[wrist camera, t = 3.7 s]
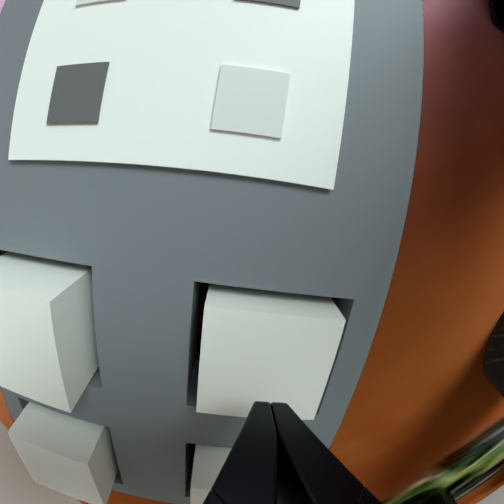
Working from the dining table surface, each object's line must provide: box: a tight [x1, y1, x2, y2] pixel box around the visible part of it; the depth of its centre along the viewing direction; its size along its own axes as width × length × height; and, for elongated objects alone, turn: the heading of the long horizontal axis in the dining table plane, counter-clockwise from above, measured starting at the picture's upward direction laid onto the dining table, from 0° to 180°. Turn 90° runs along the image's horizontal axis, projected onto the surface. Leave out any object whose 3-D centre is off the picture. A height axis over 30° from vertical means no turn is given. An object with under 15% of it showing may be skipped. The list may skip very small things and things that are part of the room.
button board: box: [0, 0, 424, 504], centre depth 10 cm, size 15×26×3 cm, turn 172°
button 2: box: [7, 402, 119, 504], centre depth 11 cm, size 4×4×3 cm
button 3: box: [190, 444, 232, 504], centre depth 11 cm, size 4×4×3 cm
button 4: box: [196, 283, 346, 420], centre depth 11 cm, size 4×4×3 cm
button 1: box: [0, 252, 99, 413], centre depth 9 cm, size 4×4×3 cm
